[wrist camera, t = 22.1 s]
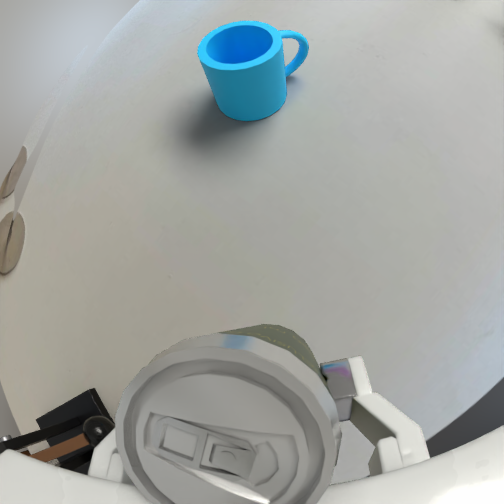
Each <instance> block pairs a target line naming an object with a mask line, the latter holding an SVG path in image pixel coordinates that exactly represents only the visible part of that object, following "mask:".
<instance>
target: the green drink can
mask: <svg viewBox="0 0 504 504" xmlns="http://www.w3.org/2000/svg"><path fill="white" fill-rule="evenodd" d="M115 435H116V446H117V449H118V452H119V455H120V458H121V461H122V463H123V466H124V469H125V471H126V473H127V474H128V476H129V477H130V479H131V480H132V482H133V483H134V484H135V486H136V487H137V488H138V490H139V491H140V492H141V494H142V495H143V496H144V497H145V498H146V499H147V500H148V501H150V502H151V503H152V504H317V503H318V501H319V500H320V498H321V497H322V495H323V494H324V492H325V491H326V489H327V488H328V486H329V485H330V483H331V480H332V476H333V471H334V467H335V466H336V464H337V459H338V454H339V448H340V443H341V437H342V432H341V427H340V422H339V417H338V412H337V408H336V403H335V401H334V399H333V397H332V394H331V392H330V390H329V388H328V386H327V383H326V381H325V379H324V377H323V375H322V373H321V371H320V368H319V366H318V364H317V362H316V359H315V357H314V355H313V353H312V351H311V350H310V348H309V347H308V345H307V343H306V342H305V340H304V339H302V338H301V337H300V336H299V335H297V334H296V333H295V332H294V331H292V330H290V329H287V328H285V327H282V326H280V325H269V324H262V325H257V326H251V327H246V328H241V329H236V330H230V331H225V332H219V333H214V334H209V335H204V336H199V337H194V338H189V339H184V340H182V341H180V342H178V343H177V344H175V345H173V346H171V347H170V348H168V349H166V350H164V351H163V352H161V353H159V354H157V355H156V356H155V357H154V358H153V359H152V361H151V362H150V363H149V364H148V365H147V366H146V367H144V368H142V369H141V370H140V372H139V373H138V374H137V375H136V376H135V378H134V379H133V380H132V381H131V382H130V384H129V385H128V386H127V387H126V388H125V390H124V391H123V394H122V397H121V400H120V403H119V406H118V409H117V412H116V415H115Z"/></svg>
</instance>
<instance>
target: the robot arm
mask: <svg viewBox="0 0 504 504" xmlns="http://www.w3.org/2000/svg"><path fill="white" fill-rule="evenodd" d="M320 371H321V373H322V375H323V377H324V379H325V381H326V383H327V386H328V388H329V390H330V392H331V394H332V397H333V399H334V401H335V403H336V408H337V412H338V417H339V422H341V421H346V420H350V421H351V422H352V423H353V424H354V425H355V426H356V427H357V428H358V430H359V431H360V432H361V433H362V434H363V435H364V436H365V437H366V438H367V439H368V440H369V441H370V442H371V443H372V444H373V445H374V446H375V447H376V448H375V450H374V452H373V454H372V457H371V459H370V461H369V463H368V465H369V471H370V476H371V477H366V478H362V479H358V480H353V481H348V482H343V483H338V484H332V485H329V486H328V488H327V489H326V491H325V492H324V494H323V495H322V497H321V498H320V500H319V501H318V503H317V504H504V425H503V426H501V427H499V428H497V429H495V430H494V431H492V432H490V433H488V434H486V435H484V436H482V437H480V438H478V439H475V440H473V441H471V442H469V443H467V444H465V445H462V446H460V447H458V448H455V449H453V450H451V451H448V452H446V453H443V454H441V455H438V456H435V457H433V458H430V457H429V453H428V450H427V446H426V443H425V439H424V436H423V433H422V429H421V427H420V426H419V425H418V424H416V423H415V422H414V421H413V420H411V419H410V418H409V417H408V416H406V415H405V414H404V413H402V412H401V411H400V410H399V409H397V408H396V407H395V406H394V405H392V404H391V403H390V402H389V401H387V400H386V399H385V398H384V397H382V396H381V395H380V394H379V393H377V392H374V393H373V392H372V388H371V385H370V381H369V378H368V375H367V371H366V368H365V364H364V361H363V358H362V357H361V356H356V357H351V358H345V359H340V360H335V361H330V362H325V363H320ZM0 504H152V503H151V502H150V501H148V500H147V499H146V498H145V497H144V496H143V495H142V494H141V492H140V491H139V490H138V488H137V487H136V486H135V484H134V483H133V482H132V480H131V479H130V477H129V476H128V474H127V473H126V471H125V469H124V466H123V463H122V461H121V458H120V455H119V452H118V449H117V446H116V435H115V428H114V429H113V430H112V431H111V432H110V433H109V434H108V435H107V436H106V437H105V438H104V439H103V440H102V441H101V442H100V443H99V444H98V445H97V446H96V447H95V448H94V451H93V455H92V459H91V463H90V467H89V471H88V475H85V474H81V473H77V472H74V471H70V470H67V469H64V468H61V467H58V466H54V465H51V464H49V463H46V462H43V461H40V460H37V459H35V458H32V457H29V456H27V455H24V454H22V453H19V452H17V451H14V450H11V449H7V450H5V451H4V452H3V453H1V454H0Z"/></svg>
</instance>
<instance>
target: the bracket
mask: <svg viewBox="0 0 504 504" xmlns="http://www.w3.org/2000/svg"><path fill="white" fill-rule="evenodd" d="M92 416H103V417H106V418H107V419H109V420H110V421H111V422H112V423H113V424H114V425H115V423H114V422H113V420H112V418H111V417H110V415H109V413H108V412H107V410H106V408H105V406H104V405H103V403H102V401H101V399H100V397H99V396H98V394H97V392H96V390H95V388H93V389H89V390H87V391H85V392H84V393H82V394H80V395H78V396H77V397H75V398H73V399H71V400H70V401H68V402H66V403H64V404H63V405H61V406H59V407H57V408H55V409H54V410H52V411H50V412H48V413H47V414H45V415H43V416H41V417H39V418H37V419H36V421H37V423H38V425H39V427H40V429H41V430H38V431H35V432H32V433H28V434H25V435H22V436H19V437H16V438H13V439H12V438H11V436H10V435H8V436H4V437H2V438H0V441H1V442H0V454H1V453H3V452H4V451H5V450H7V449H11V450H14V451H16V450H19V449H22V448H25V447H28V446H30V445H33V444H36V443H39V442H41V441H44V440H47V442H48V444H49V445H50V447H52V446H55V445H57V444H60V443H62V442H64V441H67V440H69V439H71V438H74V437H76V436H78V435H80V434H83V425H84V423H85V421H86V420H87V419H88V418H90V417H92ZM94 448H95V447H93V446H91V445H90V444H89V445H86V446H84V447H82V448H80V449H77V450H75V451H73V452H70V453H68V454H65V455H63V456H60V457H58V458H57V459H58V461H59V462H60V463H58V464H56V465H54V466H58V467H61V468H64V469H67V470H70V471H74V472H77V473H81V474H85V475H88V471H89V467H90V463H91V459H92V455H93V451H94Z"/></svg>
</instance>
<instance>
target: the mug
mask: <svg viewBox="0 0 504 504" xmlns="http://www.w3.org/2000/svg"><path fill="white" fill-rule="evenodd" d="M282 38H293V39H296V40H297V41H298V42H299V45H300V46H299V51H298V53H297V55H296V56H295V58H294V59H293V60H292V61H291V62H290V63H289V64H288V65H287V66H286V67H285V64H284V53H283V43H282ZM308 50H309V45H308V42H307V39H306V38H305V37H304V36H303V35H301V34H300V33H298V32H294V31H291V30H280V31H277V29H276V28H274V27H272V26H270V25H269V24H266V23H262V22H258V21H239V22H233V23H229V24H226V25H223V26H220V27H218V28H217V29H215V30H213V31H211V32H210V33H209V34H208V35H206V36H205V37H204V38H203V39H202V41H201V43H200V44H199V46H198V53H197V54H198V57H199V59H200V62H201V64H202V67H203V69H204V72H205V74H206V77H207V79H208V82H209V84H210V87H211V89H212V92H213V94H214V97H215V100H216V102H217V104H218V107H219V109H220V110H221V111H222V112H223V113H224V114H225V115H226V116H228V117H230V118H233V119H235V120H241V121H253V120H260V119H263V118H265V117H268V116H270V115H272V114H273V113H275V112H276V111H278V110H279V109H280V108H281V106H282V105H283V104H284V102H285V99H286V96H287V88H286V77H287V76H289V75H290V74H291V73H293V72H294V71H295V70H296V69H297V68H298V67H299V66H300V65H301V64H302V63H303V62H304V60H305V58H306V56H307V54H308Z"/></svg>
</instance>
